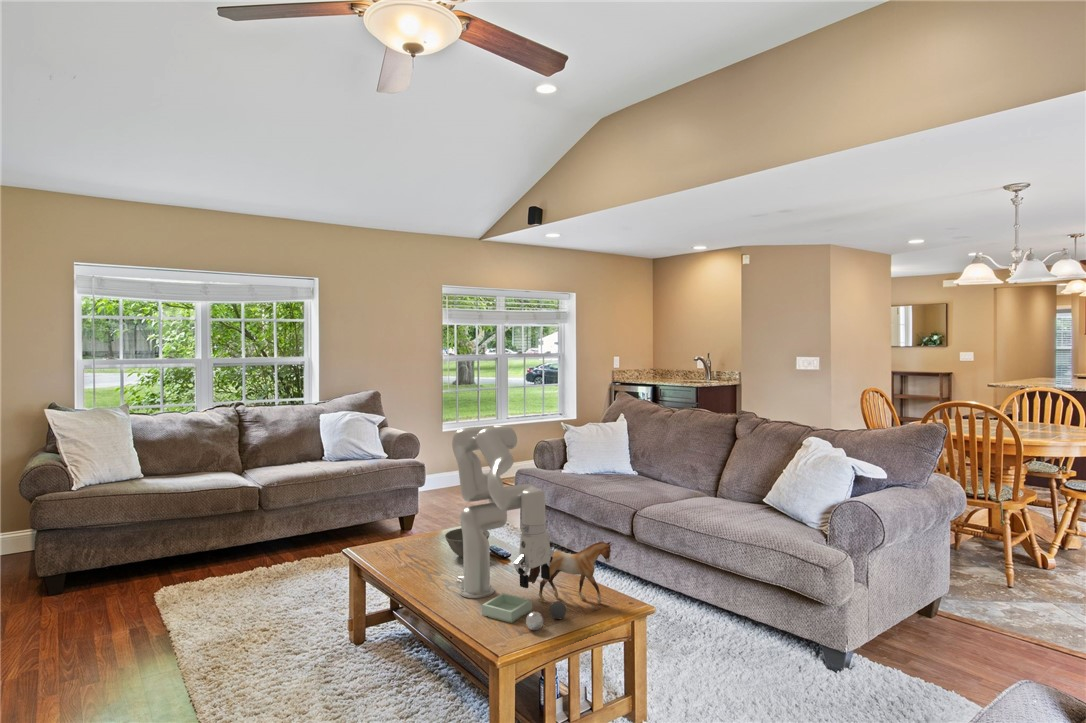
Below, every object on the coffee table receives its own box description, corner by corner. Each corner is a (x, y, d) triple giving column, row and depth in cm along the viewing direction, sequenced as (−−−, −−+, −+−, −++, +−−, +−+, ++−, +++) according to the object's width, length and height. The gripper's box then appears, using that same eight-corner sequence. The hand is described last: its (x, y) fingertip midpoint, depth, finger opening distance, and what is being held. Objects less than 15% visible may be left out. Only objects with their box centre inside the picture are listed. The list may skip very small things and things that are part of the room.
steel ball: (522, 630, 203) (522, 613, 203) (532, 624, 208) (532, 607, 208) (537, 634, 200) (537, 617, 200) (546, 628, 205) (546, 611, 205)
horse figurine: (613, 598, 228) (612, 540, 228) (612, 607, 221) (611, 547, 220) (526, 594, 233) (525, 537, 233) (522, 602, 226) (521, 544, 225)
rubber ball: (546, 619, 211) (546, 602, 211) (555, 613, 216) (555, 597, 216) (561, 623, 208) (560, 606, 208) (569, 617, 213) (569, 600, 213)
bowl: (440, 554, 279) (439, 531, 279) (481, 547, 287) (481, 525, 287) (452, 567, 262) (452, 542, 262) (496, 560, 270) (496, 536, 270)
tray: (481, 615, 215) (481, 604, 215) (503, 602, 225) (503, 592, 225) (511, 623, 209) (511, 612, 209) (531, 610, 219) (531, 599, 219)
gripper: (523, 536, 194) (524, 593, 194) (560, 524, 207) (562, 578, 207) (505, 532, 199) (506, 587, 199) (543, 521, 212) (544, 573, 212)
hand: (535, 582), depth 203 cm, fingers open, 9 cm apart
